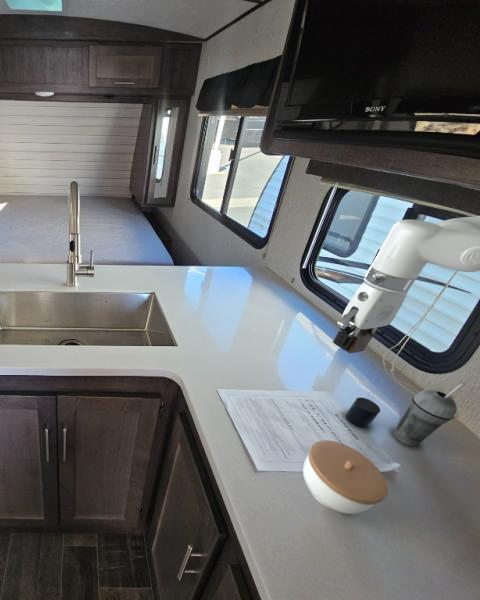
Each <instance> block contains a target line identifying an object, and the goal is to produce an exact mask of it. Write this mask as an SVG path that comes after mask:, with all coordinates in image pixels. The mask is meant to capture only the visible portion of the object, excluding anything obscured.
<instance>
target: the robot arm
mask: <svg viewBox="0 0 480 600" xmlns="http://www.w3.org/2000/svg"><path fill="white" fill-rule="evenodd" d="M427 264H432V265H435V266H438V267H441V268H445V269H448V270H453V271H456V272H462V273H476V272H480V215H476V216H465V217H455V218H449V219H444V220H442V221H439V222H436V223H433V222H430V221H424V220H422V219H421V220H419V219H411V218H409V219H401V220H399V221H397V222H396V223H395V224H394V225H393V226H392V228H391V230H390V232H389V233H388V235H387V237H386V239H385V241H384V242H383V244H382V246H381V248H380V250H379V251H378V253H377V255H376V257H375V258H374V260H373V262H372V264H371V265H370V267H369V268H368V271H367V272H366V274H365V276H364V278H363V282H362V283H361V285H360V286H359V287H358V289H357V290H356V291H355V293H354V294H353V295H352V297H351V299H350V300H349V302H348V304H347V305H346V307H345V309H344V311H343V312H342V314H341V315H342V316H341V318H340V319H339V321H337V323H336V324H337V326H338V327H339V330H340V332H339V334H338V335H337V334H336V335H337V337H336V336H335V337H336V339H335V341H334V343H333V344H334V345H336V346H337V347H338V348H340V349H342V350H343V351H345V350H348V349H349V347H350V345H351V344H352V342H353V340H354V339H355V337H353V336H354V335H355V334H356V333H357V331H358V330H359V329H362V330H363V331H365V332H367V333H368V334H370V335H372V336H373V334H375V333H376V332H377V329H378V328H381V327H386V326H389V325H390V324H392V322H393V321H394V319H395V318H396V316H397V314H398V312H400V311H399V310H400V309H401V307H402V305H403V303H404V301H405V300H406V297H407V295H408V293H409V291H410V289H411V287H412V286H413V284H414V283H415V282H416V281H417V278H419V275H420V274H421V273H422V271H423V270H424V268H425V266H426V265H427ZM349 326H354V328H353V329H352V330H351V328H350V327H349ZM339 330H338V331H339Z"/></svg>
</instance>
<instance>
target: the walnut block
mask: <svg viewBox="0 0 480 600" xmlns="http://www.w3.org/2000/svg"><path fill="white" fill-rule="evenodd" d="M349 327H350V328H351V330H352V329H353V328H354V326H352V325H349ZM339 332H340V330H338V332H337V333H336V335H335V337H334V338H333V340H332V343H333V344H334V341H335V339H336V337H337V335H338V334H339ZM370 334H371V333H370ZM370 334H368V333H367V332H365V331H363V330H362V329H359V330H358V331H357V333H356V334H355V335H354V336H353V337H355V339H354V340H353V342H352V344H351V345H350V347H349V349H348V350H344V351H345V352H347V353H348V354H355V353H360V352H364V351H365V349H366V348H367V347H368V345H369V343H370V342H371V340H372V339H373V337H374V336H373V334H372V335H370Z"/></svg>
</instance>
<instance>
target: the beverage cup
mask: <svg viewBox="0 0 480 600" xmlns="http://www.w3.org/2000/svg"><path fill="white" fill-rule="evenodd" d="M465 385H466V383H464V382H461V383H459V384H458V385H457V386H456V387H455V388H454V389H452V390H451V391H449V393H445V392H444V391H441V390H436V389H425V390H421V391H418V392H417V393H416V394H415V395H413V396H412V397H411V400H410V403H409V406H408V408H407V410H406V411H405V412H404V414H403V416H402V417H401V418H400V421H399V422H398V424H397V425H396V427H395V429H394V430H393V435H394V437H395V438H396V439H397V440H398V441H399V442H400V443H402V444H404V445H407V446H410V447H415V446H417V445H419V444H420V443H422V442H423V441H424V440H425V439H427V438H428V437H429V436H431V435H432V434H433V433H434V432H435V431H437V430H438V429H439V428H440V427H441V426H443V425H444V424H447V423H449V422H450V421H451V420H453V419H455V416H456V414H457V411H458V406H457V404H456V401H455V400H454V399H453V397H451V396H453V395H454V394H455V393H457V391H459V390H460V389H461V388H463V386H465Z"/></svg>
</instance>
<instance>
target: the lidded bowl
mask: <svg viewBox="0 0 480 600" xmlns="http://www.w3.org/2000/svg"><path fill="white" fill-rule="evenodd" d="M302 473H303V478H304V481H305V484H306V486H307V488H308V490H309V491H310V493H311V494H312V496H313V498H315V499H316V501H318V502H319V504H321V505H322V506H324V507H325V508H327V509H330V510H332V511H335V512H338V513H341V514H346V515H359V514H360V515H361V514H364V513H367V512H369V511H370V510H371V509H373V508H375V507H376V506H377V505H378V504H379V503H381V502H383V500H384V499H386V497H387V495H388V492H389V491H388V488H389V487H388V483H387V481H386V479H385V477H384V474H382V472H381V470H380V469H379V468H378V467H377V465H376V464H374V463H373V461H371V460H370V459H369V457H366V456H365V455H364V454H362V452H360V451H358V450H357V449H355V448H353V447H351V446H350V445H347V444H344V443H342V442H339V441H334V440H329V439H328V440H327V439H326V440H319V441H316V442H315V443H313V444H312V446H311V447H310V449H309V451H308V453H307V454H306V457H305V459H304V462H303V466H302Z"/></svg>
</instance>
